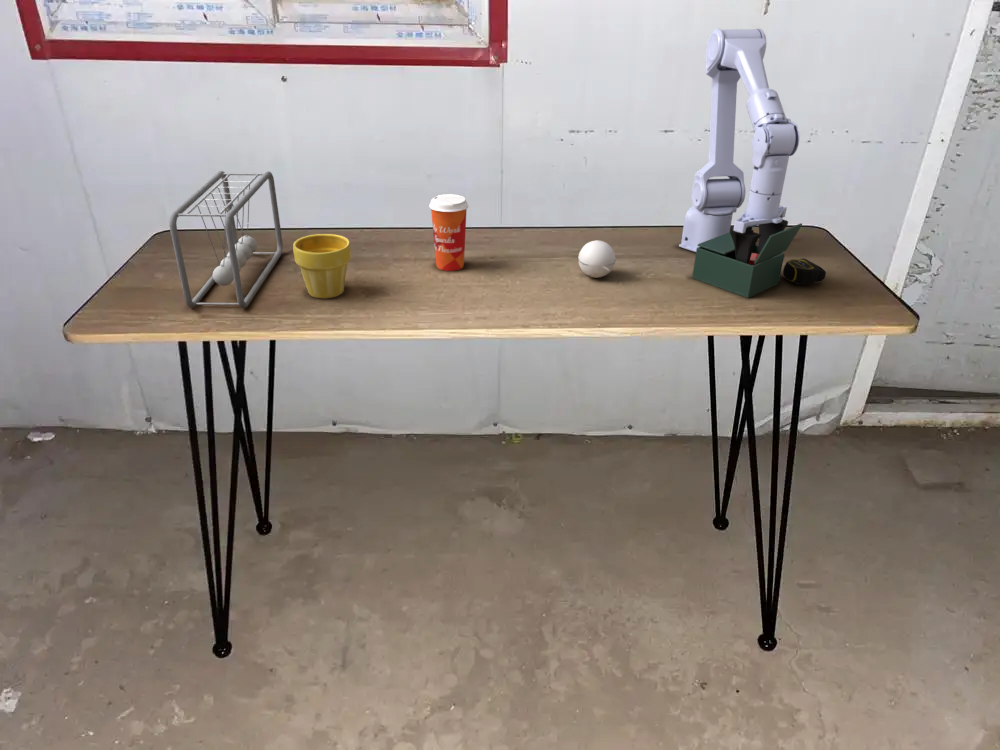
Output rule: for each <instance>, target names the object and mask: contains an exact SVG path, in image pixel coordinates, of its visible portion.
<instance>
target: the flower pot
mask: <svg viewBox="0 0 1000 750" xmlns="http://www.w3.org/2000/svg"><path fill="white" fill-rule="evenodd" d="M292 251H293V257H294V262H295V264H296V265H297V266H299V269H300V272H301V276H302V279H303V281H304V284H305V288H306V290H307V293H308V294H309V296H311V297H312V298H316V299H332V298H336V297H338V296H340V295H342V294H343V292H344V291H345V282H346V275H347V269H348V264H349V262H350V261H351V258H352V255H351V251H352V249H351V242H350V240H349V239H348V238H347V237H345V236H343V235H341V234H334V233H316V234H315V233H314V234H309V235H304V236H301V237H299V238H298V239H296V240H295V241H294V242H293V244H292Z"/></svg>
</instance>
